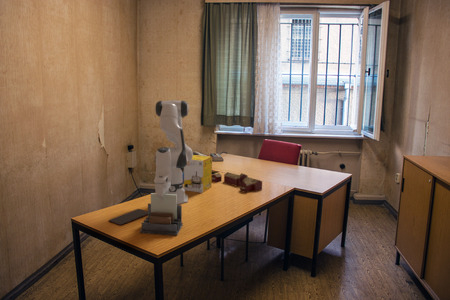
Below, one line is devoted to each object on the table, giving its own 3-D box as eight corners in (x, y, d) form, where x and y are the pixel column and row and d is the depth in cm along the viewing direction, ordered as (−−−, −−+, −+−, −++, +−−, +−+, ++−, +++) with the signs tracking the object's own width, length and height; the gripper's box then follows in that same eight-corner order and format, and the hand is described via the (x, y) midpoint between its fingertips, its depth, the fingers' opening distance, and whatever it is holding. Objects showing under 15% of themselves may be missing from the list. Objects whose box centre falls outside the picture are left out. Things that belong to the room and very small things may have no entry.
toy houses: (264, 188, 294) (264, 176, 292) (247, 194, 280) (247, 181, 278) (224, 177, 325) (224, 166, 323) (207, 181, 311) (207, 169, 309)
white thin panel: (151, 222, 216) (151, 193, 212) (176, 223, 214) (176, 194, 211) (151, 223, 214) (150, 193, 211) (176, 224, 213) (176, 195, 209)
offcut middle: (151, 224, 212) (151, 211, 210) (173, 226, 211) (173, 213, 209) (150, 226, 210) (150, 213, 208) (172, 227, 209) (172, 214, 207)
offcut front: (150, 227, 208) (150, 216, 207) (171, 229, 207) (171, 217, 206) (149, 229, 206) (149, 217, 205) (170, 230, 205) (170, 218, 204)
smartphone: (106, 220, 219) (138, 208, 240) (106, 222, 220) (138, 210, 240) (120, 225, 212) (151, 212, 233) (120, 227, 213) (151, 214, 233)
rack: (148, 222, 219) (147, 202, 216) (182, 225, 217) (182, 204, 214) (140, 233, 204) (139, 211, 202) (177, 235, 202) (177, 214, 200)
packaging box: (183, 190, 285) (183, 158, 280) (193, 184, 299) (193, 154, 294) (202, 192, 279) (203, 160, 274) (211, 187, 293) (212, 156, 288)
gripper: (163, 171, 219) (163, 193, 222) (153, 180, 199) (153, 204, 202) (173, 172, 219) (173, 194, 221) (164, 181, 199) (164, 205, 201)
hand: (163, 199), depth 211 cm, fingers open, 8 cm apart
